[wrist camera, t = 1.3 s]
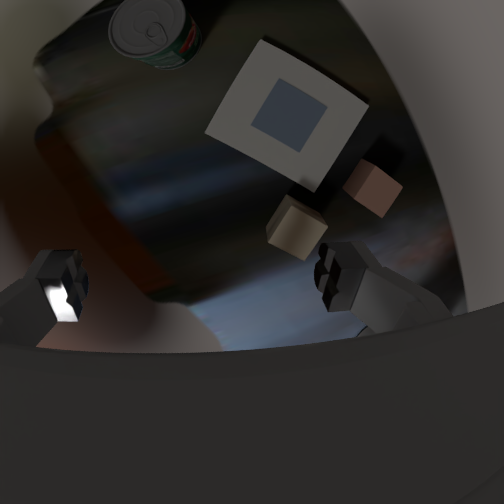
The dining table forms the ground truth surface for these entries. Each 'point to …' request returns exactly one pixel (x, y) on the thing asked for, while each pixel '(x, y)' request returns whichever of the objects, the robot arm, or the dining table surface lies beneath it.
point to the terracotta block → (372, 187)
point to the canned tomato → (155, 32)
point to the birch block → (295, 227)
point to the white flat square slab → (287, 115)
